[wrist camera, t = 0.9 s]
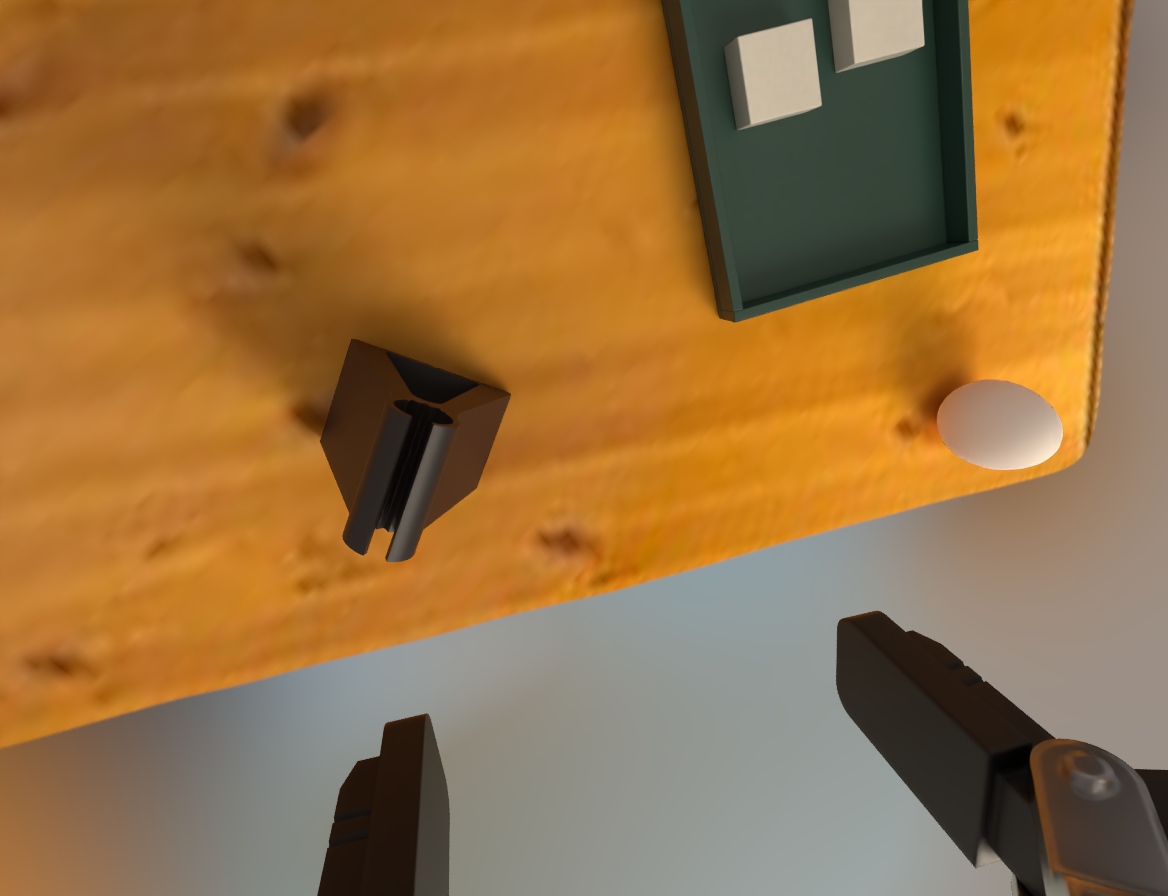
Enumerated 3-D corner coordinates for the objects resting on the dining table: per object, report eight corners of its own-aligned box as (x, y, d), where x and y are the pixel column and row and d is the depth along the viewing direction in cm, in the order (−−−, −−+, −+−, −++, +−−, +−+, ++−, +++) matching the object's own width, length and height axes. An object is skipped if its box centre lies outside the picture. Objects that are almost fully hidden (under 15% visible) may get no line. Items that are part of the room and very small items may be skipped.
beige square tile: (722, 47, 32) (737, 36, 31) (794, 29, 33) (812, 17, 31) (736, 131, 34) (750, 124, 32) (804, 112, 34) (822, 105, 32)
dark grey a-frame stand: (511, 393, 36) (534, 457, 25) (475, 486, 37) (482, 587, 26) (352, 336, 34) (298, 379, 22) (320, 438, 35) (254, 527, 24)
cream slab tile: (825, -13, 32) (845, -27, 31) (895, -30, 33) (919, -46, 31) (835, 73, 34) (854, 63, 32) (902, 55, 34) (925, 45, 32)
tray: (649, -66, 31) (663, -90, 29) (928, -131, 32) (962, -158, 30) (719, 318, 37) (735, 322, 35) (949, 250, 39) (978, 250, 36)
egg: (989, 365, 41) (1100, 388, 34) (982, 441, 43) (1087, 479, 36) (916, 377, 41) (1014, 404, 34) (912, 454, 42) (1004, 496, 35)
